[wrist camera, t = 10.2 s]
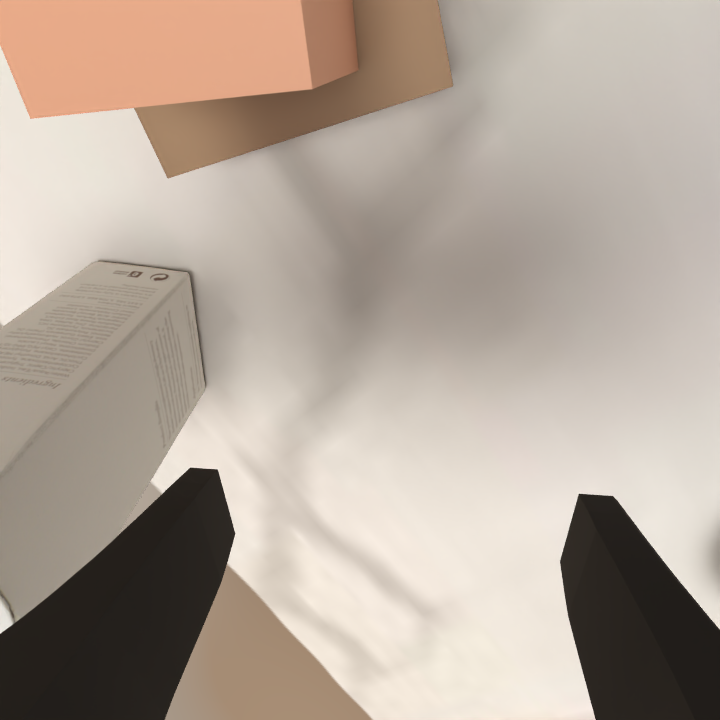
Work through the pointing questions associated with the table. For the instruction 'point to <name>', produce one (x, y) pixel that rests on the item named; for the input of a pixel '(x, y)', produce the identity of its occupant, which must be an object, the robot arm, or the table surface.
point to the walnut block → (311, 92)
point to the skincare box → (87, 417)
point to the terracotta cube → (171, 50)
